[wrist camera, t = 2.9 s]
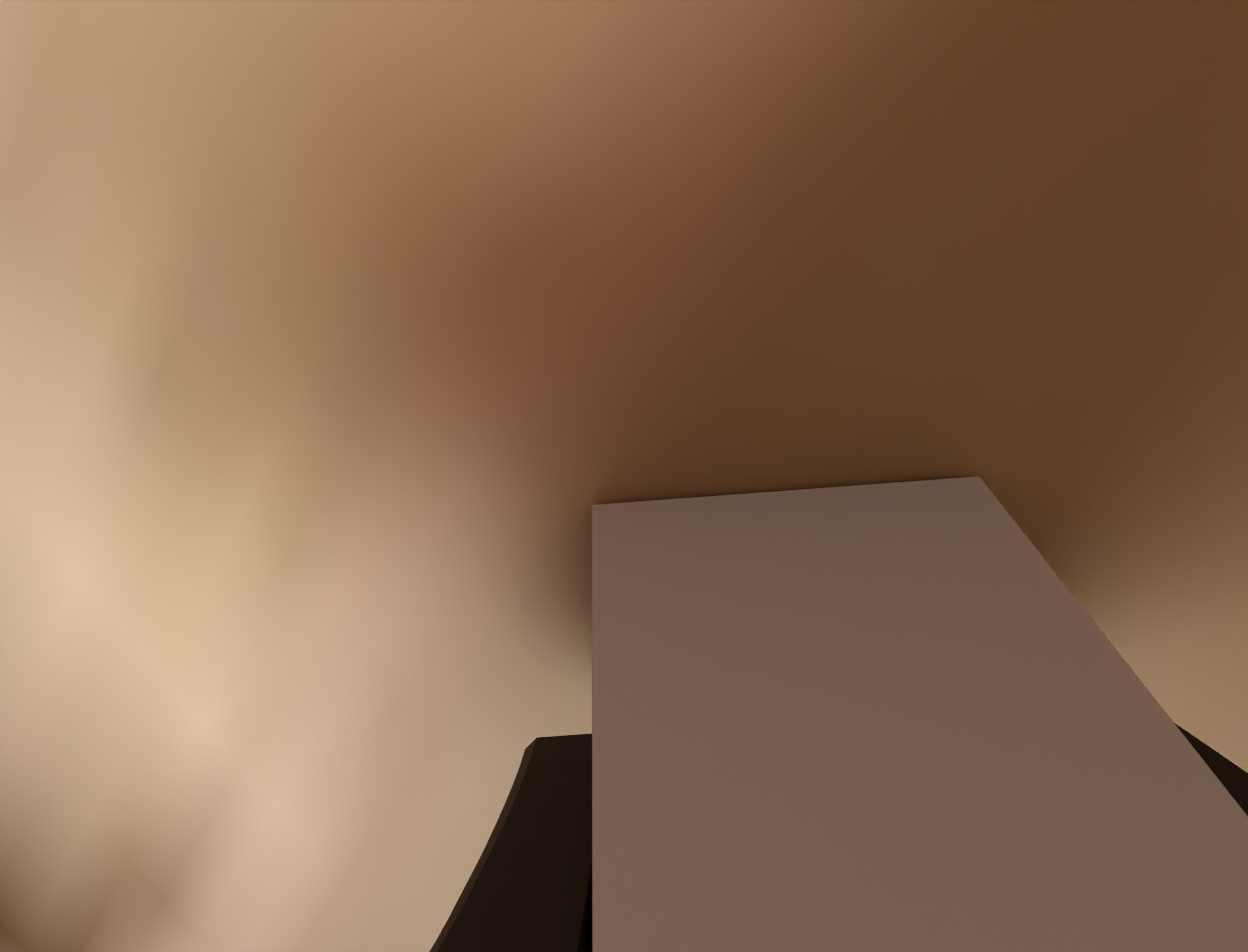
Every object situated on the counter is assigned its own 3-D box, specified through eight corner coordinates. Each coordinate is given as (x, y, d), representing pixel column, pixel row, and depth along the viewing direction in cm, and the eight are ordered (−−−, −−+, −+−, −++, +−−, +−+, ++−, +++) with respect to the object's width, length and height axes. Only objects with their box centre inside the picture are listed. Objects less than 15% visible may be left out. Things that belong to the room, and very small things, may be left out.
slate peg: (956, 783, 13) (1437, 1836, 6) (618, 807, 13) (655, 1891, 6) (979, 476, 11) (1711, 1404, 4) (590, 505, 11) (593, 1482, 4)
